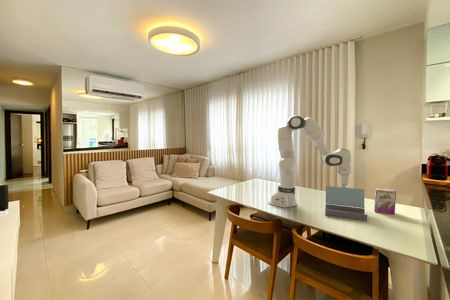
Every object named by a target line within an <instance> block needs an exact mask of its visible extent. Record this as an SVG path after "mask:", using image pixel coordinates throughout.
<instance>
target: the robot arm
mask: <svg viewBox="0 0 450 300" xmlns="http://www.w3.org/2000/svg"><path fill="white" fill-rule="evenodd" d="M300 129H301V130H302V131H304V134H306V136H307V138H308V139H309V141H311V142H312V143H313V144H314V145H315V147H316V148H317V150H318V151H319V153H320V156H321V161H322V163H323V164H324V165H327V166H329V167H336V166H337V167H336V169H337V171H336V172H337V173H338V174H339V176H340V182H341V187H343V188H346V186H347V185H349V177H350V175H351V173H352V166H351V162H352V155H351V154H352V153H351V151H350V150H348V149H345V148H337V150H335V151H333V152H331V151H330V150H329V148H328V147H327V145H326V144H325V142H324V133H323V130H322V128H321V127H320V125H319V124H318V122H316V120H315V119H314V118H313V117H311V116H307V117H306V118H305V117H304V118H303V117H301V116H300V115H292V116H290V117H289V118H288V119H287V121H286V123H285V125H281V126H279V127H278V129H277V130H278V131H277V143H278V152H279V155H280V160H279V162H278V167H279V171H278V172H279V177H280V180H279V181H280V182H279V183H280V184H279V185H277V190H276V191H275V192H274V193H273V194H271V197H270V199H268V201H267V203H268V204H269V205H273V206H277V207H280V208H281V207H283V208H289V207H295V206H297V204H298V203H297V200H296V187H295V186H296V185H295V170H294V168H295V165H296V158H295V157H296V156H295V152H294V151H295V150H294V143H293V142H294V141H293V132H294V131H298V130H300Z"/></svg>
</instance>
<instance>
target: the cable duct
mask: <svg viewBox="0 0 450 300" xmlns="http://www.w3.org/2000/svg"><path fill="white" fill-rule="evenodd" d="M324 209H325V212H324V216H326V217H333V218H340V219H346V220H353V221H359V222H366V223H367V222H368V214H367V213H365V212H366V211H365V207H364V208H360V207H351V206H343V205H335V204H326V203H325V208H324Z"/></svg>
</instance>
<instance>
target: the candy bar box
mask: <svg viewBox="0 0 450 300" xmlns="http://www.w3.org/2000/svg"><path fill="white" fill-rule="evenodd" d="M396 196H397V192H396V190H395V189H387V188H377V187H376V188H375V189H374V208H373V209H374V213H382V214H389V215H395V213H396V198H397V197H396Z"/></svg>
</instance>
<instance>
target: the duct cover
mask: <svg viewBox="0 0 450 300" xmlns="http://www.w3.org/2000/svg"><path fill="white" fill-rule="evenodd" d="M326 204H331V205H339V206H348V207H356V208H364V209H365V189H364V188H363V189H362V188H355V187H354V188H353V187H345V188H343V187H342V186H341V187H340V186H328V185H325V205H326Z"/></svg>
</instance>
